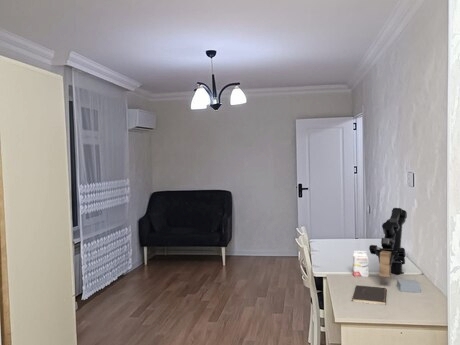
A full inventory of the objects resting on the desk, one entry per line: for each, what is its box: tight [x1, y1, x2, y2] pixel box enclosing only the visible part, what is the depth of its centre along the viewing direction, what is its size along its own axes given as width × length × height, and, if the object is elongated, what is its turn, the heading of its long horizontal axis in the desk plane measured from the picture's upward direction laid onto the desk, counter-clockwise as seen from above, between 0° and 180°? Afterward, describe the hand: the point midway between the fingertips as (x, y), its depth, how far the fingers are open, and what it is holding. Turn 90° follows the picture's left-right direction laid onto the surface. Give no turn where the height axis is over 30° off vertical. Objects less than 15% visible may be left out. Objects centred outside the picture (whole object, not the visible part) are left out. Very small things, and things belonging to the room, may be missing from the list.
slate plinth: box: [396, 278, 421, 293], centre depth 250 cm, size 10×10×4 cm
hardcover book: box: [351, 285, 388, 306], centre depth 239 cm, size 16×23×2 cm
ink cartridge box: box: [352, 250, 370, 278], centre depth 277 cm, size 9×5×15 cm, turn 84°
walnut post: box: [379, 251, 392, 278], centre depth 253 cm, size 5×5×13 cm
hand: (384, 263), depth 252 cm, fingers closed on walnut post, 5 cm apart
